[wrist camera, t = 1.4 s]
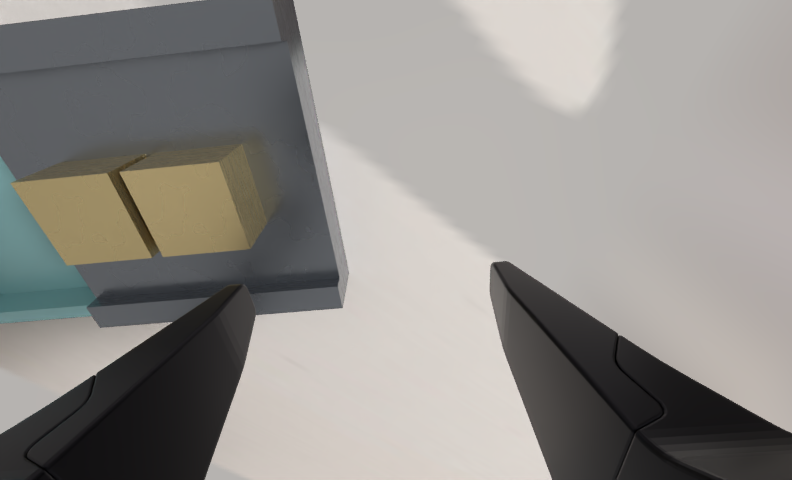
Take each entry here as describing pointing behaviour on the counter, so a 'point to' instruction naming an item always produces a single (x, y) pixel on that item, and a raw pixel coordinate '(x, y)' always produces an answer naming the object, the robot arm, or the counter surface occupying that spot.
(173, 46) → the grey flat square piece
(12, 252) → the tray
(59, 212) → the chip
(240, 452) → the counter surface
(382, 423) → the counter surface
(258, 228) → the tan square block
